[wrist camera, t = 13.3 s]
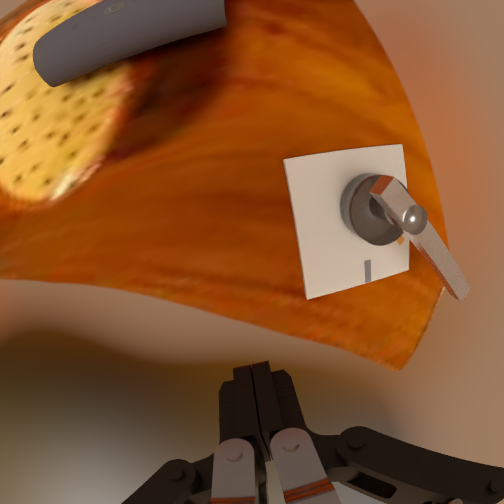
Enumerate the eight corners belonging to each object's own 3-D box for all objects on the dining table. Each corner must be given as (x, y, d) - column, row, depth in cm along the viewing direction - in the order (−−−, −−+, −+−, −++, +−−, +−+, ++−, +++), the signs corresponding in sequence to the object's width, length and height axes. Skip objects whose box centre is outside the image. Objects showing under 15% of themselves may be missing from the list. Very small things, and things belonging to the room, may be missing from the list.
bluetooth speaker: (214, -7, 25) (213, -46, 16) (227, 42, 28) (229, 7, 19) (66, 45, 25) (31, 26, 15) (70, 96, 28) (30, 84, 18)
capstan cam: (318, 201, 35) (360, 223, 24) (359, 150, 33) (414, 152, 22) (404, 285, 41) (447, 322, 29) (436, 243, 39) (484, 270, 28)
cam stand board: (282, 159, 34) (284, 159, 33) (398, 144, 35) (402, 144, 33) (305, 296, 41) (307, 300, 40) (405, 267, 41) (409, 270, 40)
